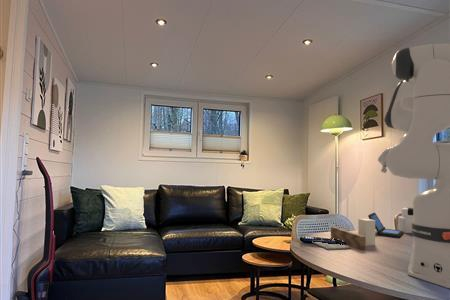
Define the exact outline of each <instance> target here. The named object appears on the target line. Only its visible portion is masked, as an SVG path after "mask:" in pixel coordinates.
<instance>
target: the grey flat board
mask: <svg viewBox="0 0 450 300" xmlns="http://www.w3.org/2000/svg"><path fill="white" fill-rule="evenodd" d="M332 240H334V239H332ZM311 241H312V243H311V244H314V245H316V246H318V247H320V248H322V249H325V250H327V251H336V250H338V251H339V250H351V249H352V246H350V245H347V244H344V243H341V245H340V244H328V243H322V242H313V241H314V240H311ZM342 244H343V245H342Z"/></svg>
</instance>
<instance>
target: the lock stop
mask: <svg viewBox="0 0 450 300" xmlns="http://www.w3.org/2000/svg"><path fill="white" fill-rule="evenodd" d="M357 224H358V230H357V231H358V233H357V234H359V235H362V236H365V247H366V246H376V229H375V220H371V219H369V218H358V223H357Z"/></svg>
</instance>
